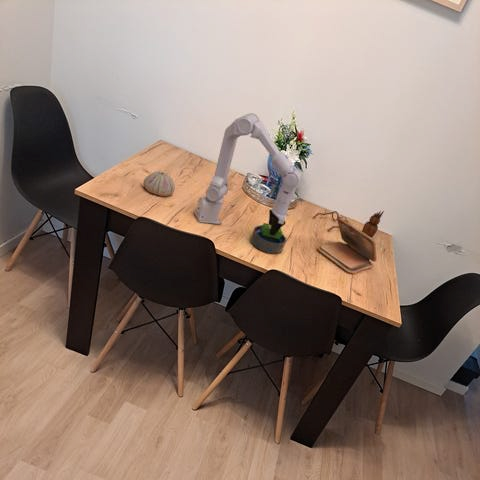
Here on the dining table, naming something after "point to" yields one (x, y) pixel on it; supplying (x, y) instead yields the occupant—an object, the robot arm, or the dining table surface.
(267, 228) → the green box
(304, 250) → the dining table surface
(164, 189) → the sea urchin shell
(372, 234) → the wooden figurine
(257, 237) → the bowl
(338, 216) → the glasses
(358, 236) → the case
